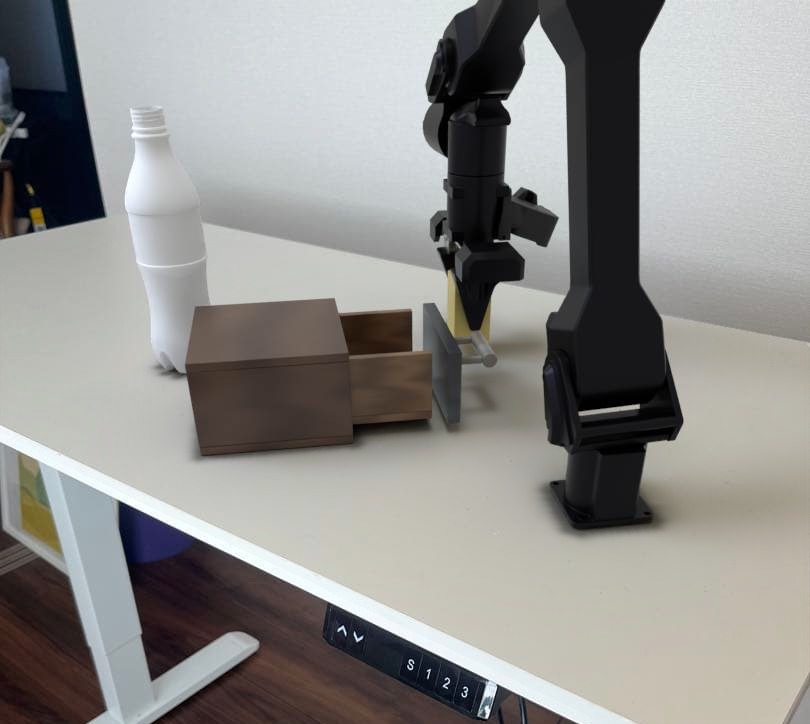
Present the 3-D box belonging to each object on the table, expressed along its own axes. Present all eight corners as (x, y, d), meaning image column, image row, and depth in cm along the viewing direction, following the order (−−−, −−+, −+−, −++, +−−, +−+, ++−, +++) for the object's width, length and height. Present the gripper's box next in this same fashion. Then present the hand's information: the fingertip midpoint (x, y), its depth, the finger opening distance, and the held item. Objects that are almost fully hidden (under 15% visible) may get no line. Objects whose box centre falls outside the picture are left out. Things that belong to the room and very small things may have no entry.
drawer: (473, 363, 86) (475, 299, 83) (504, 419, 75) (509, 348, 72) (315, 374, 84) (309, 310, 81) (324, 433, 74) (318, 362, 70)
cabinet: (339, 378, 86) (334, 297, 81) (353, 443, 74) (348, 352, 69) (208, 388, 84) (194, 306, 79) (200, 455, 72) (184, 363, 67)
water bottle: (142, 370, 88) (88, 111, 74) (186, 348, 93) (143, 101, 79) (194, 382, 85) (149, 115, 71) (237, 359, 91) (202, 105, 76)
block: (489, 342, 90) (492, 278, 86) (453, 344, 89) (455, 280, 85) (481, 329, 93) (483, 267, 89) (446, 332, 93) (447, 269, 89)
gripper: (584, 187, 75) (567, 349, 84) (528, 152, 90) (519, 293, 99) (465, 192, 74) (460, 357, 82) (429, 156, 89) (428, 298, 98)
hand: (470, 323), depth 90 cm, fingers closed on block, 4 cm apart
